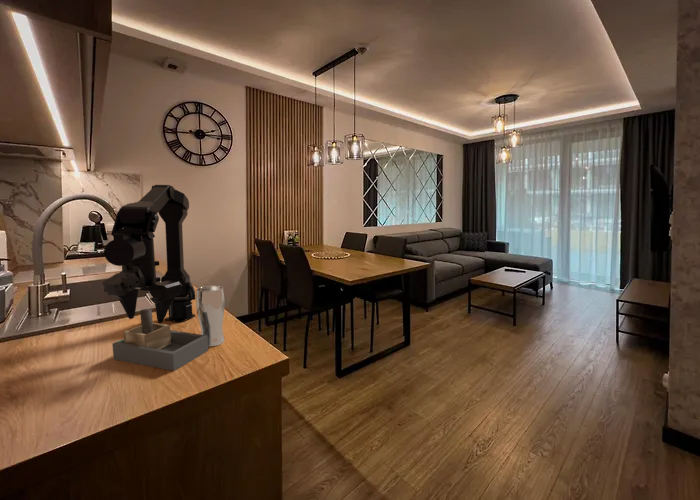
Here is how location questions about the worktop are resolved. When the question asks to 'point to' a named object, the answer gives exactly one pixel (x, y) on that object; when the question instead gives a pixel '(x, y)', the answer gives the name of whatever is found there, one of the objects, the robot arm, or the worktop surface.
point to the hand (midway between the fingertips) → (145, 320)
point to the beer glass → (211, 313)
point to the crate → (148, 333)
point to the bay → (164, 351)
